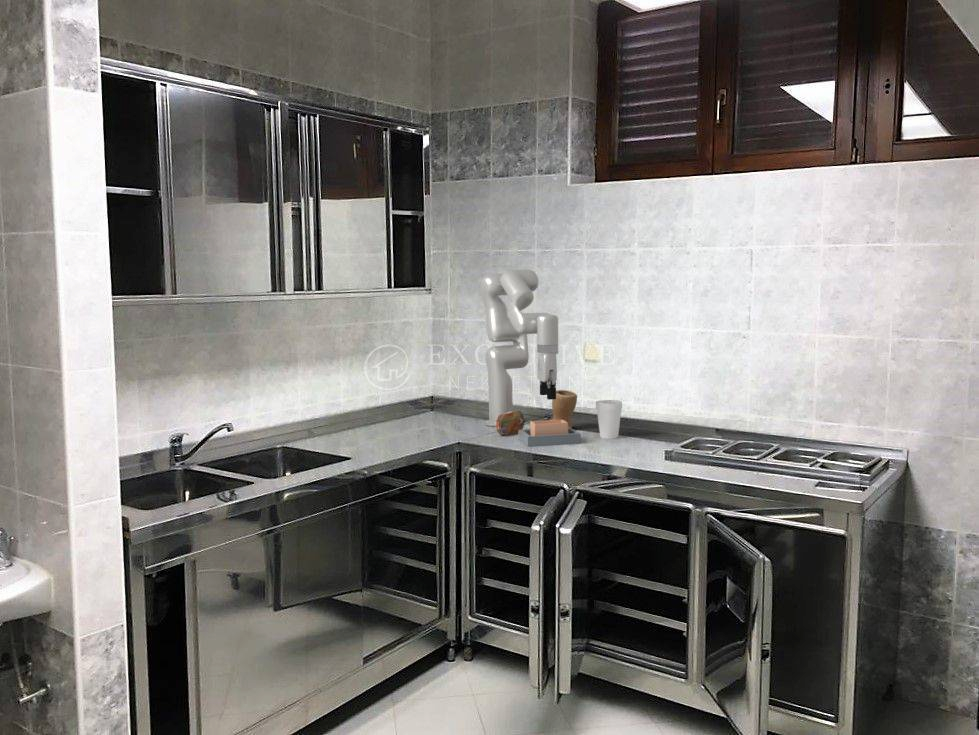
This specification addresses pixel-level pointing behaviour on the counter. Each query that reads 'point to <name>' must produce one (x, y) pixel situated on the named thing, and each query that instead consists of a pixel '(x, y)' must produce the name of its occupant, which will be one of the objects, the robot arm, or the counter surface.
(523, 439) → the grey tray
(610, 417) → the foam cup
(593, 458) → the counter surface
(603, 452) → the counter surface
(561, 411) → the brown boot
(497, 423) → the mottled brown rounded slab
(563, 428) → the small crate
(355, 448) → the counter surface
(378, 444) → the counter surface
